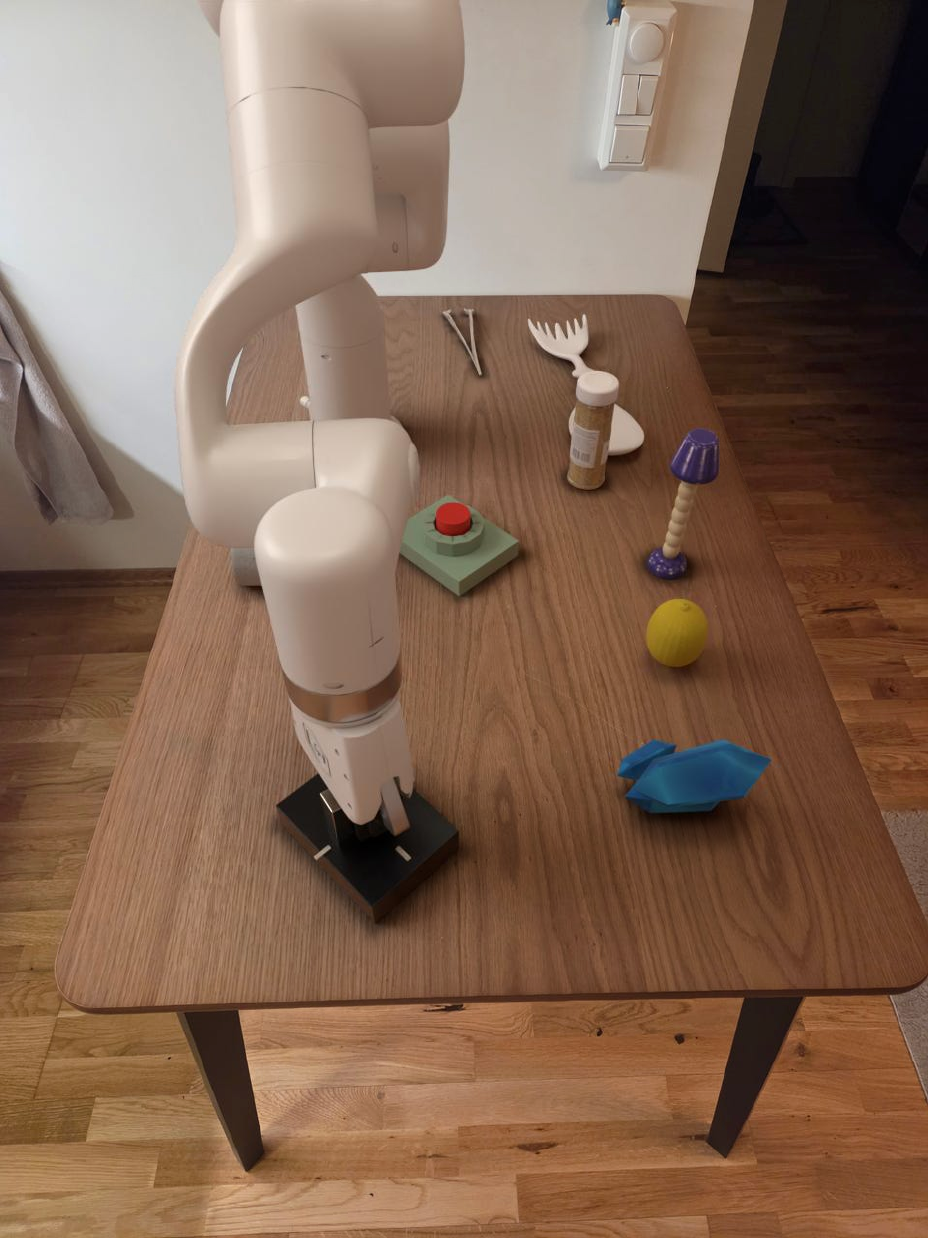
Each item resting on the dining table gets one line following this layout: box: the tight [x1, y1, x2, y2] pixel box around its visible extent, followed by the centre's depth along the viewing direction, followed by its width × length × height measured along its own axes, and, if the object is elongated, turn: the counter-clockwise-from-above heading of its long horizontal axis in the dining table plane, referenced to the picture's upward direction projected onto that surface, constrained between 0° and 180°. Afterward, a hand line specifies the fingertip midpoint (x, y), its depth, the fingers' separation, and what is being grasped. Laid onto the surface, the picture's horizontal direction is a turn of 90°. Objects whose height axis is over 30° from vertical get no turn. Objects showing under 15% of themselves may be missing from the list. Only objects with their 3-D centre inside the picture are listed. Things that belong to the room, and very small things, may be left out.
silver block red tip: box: [320, 788, 405, 845], centre depth 66 cm, size 6×2×5 cm, turn 124°
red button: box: [436, 502, 470, 537], centre depth 91 cm, size 4×4×2 cm
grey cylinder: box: [230, 548, 262, 587], centre depth 90 cm, size 11×8×8 cm
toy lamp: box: [646, 428, 720, 580], centre depth 86 cm, size 5×5×17 cm
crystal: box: [616, 738, 772, 814], centre depth 70 cm, size 7×9×12 cm
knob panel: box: [275, 772, 460, 925], centre depth 69 cm, size 12×10×3 cm
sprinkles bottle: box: [566, 370, 620, 491], centre depth 98 cm, size 5×5×14 cm
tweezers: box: [442, 308, 482, 376], centre depth 124 cm, size 17×5×2 cm, turn 11°
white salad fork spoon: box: [527, 313, 645, 456], centre depth 114 cm, size 9×32×4 cm, turn 10°
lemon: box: [645, 598, 709, 668], centre depth 81 cm, size 6×6×8 cm
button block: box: [399, 494, 520, 597], centre depth 93 cm, size 11×9×4 cm
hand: (365, 814), depth 68 cm, fingers closed
